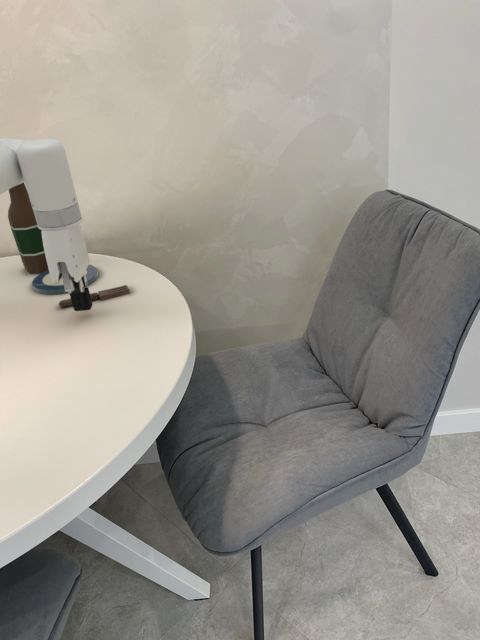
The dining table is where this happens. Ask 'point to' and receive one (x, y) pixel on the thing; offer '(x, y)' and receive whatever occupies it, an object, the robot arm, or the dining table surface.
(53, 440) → the dining table surface
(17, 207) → the beer bottle
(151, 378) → the dining table surface
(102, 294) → the brown wooden dowel
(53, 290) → the plate
